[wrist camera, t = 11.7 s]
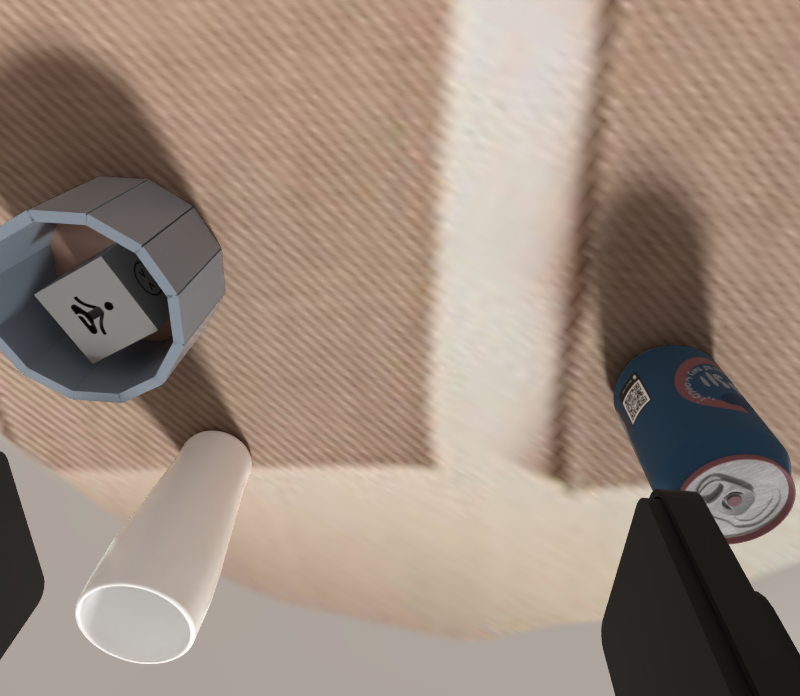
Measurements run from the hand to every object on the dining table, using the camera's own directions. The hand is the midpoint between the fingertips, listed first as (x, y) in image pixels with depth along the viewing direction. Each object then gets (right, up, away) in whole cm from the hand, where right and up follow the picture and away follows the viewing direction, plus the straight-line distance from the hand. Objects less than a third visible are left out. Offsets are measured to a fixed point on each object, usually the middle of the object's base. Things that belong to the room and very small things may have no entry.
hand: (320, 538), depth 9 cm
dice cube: (-16, +7, +31) cm, 35 cm away
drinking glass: (-12, -5, +38) cm, 40 cm away
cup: (-16, +8, +31) cm, 36 cm away
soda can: (+19, +1, +33) cm, 38 cm away
